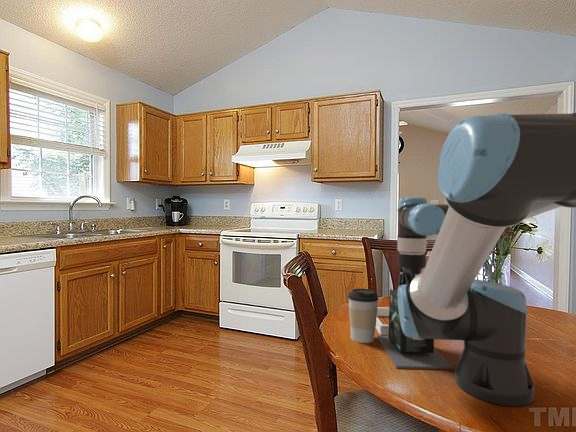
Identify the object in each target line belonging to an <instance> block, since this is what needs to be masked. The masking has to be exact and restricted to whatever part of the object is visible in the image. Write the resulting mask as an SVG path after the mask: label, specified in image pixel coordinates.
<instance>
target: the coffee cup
mask: <svg viewBox="0 0 576 432" xmlns="http://www.w3.org/2000/svg"><path fill="white" fill-rule="evenodd" d="M347 298H348V318H349V326H350V328H349V329H350V339H351V340H352V341H354V342H355V343H361V344H370V343H374V342H375V332H376V328H375V327H376V318H377V317H378V316H377V307H378V301H379V295H378V294H377V293H376V292H375V290H373V289H369V288H354V289H353V288H352V290H351V291H350V292H349V293H348V296H347Z"/></svg>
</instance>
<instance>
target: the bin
mask: <svg viewBox="0 0 576 432" xmlns="http://www.w3.org/2000/svg"><path fill="white" fill-rule="evenodd" d="M379 317H389V306H388V307H387V306H386V307H383V306H382V307H379V306H377V318H376V327H375V330H377V332H378V334H379V336H389V324H383V323H382V321H381V320H380V318H379Z"/></svg>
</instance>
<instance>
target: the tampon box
mask: <svg viewBox="0 0 576 432" xmlns="http://www.w3.org/2000/svg"><path fill="white" fill-rule="evenodd" d="M397 292H398V290H397V289H391V288H390V289H389V297H388V298H389V299H388V302H389V303H388V305H389V306H388V307H389V316H388V325H389V335H388V336H389V339H390V340H391V342H392V343H393V344H394V345H395V347H396V348H397V349H398V351H399V352H409V353H434V348H435V339H424V340H413V339H412V338H409V337H407V336H405V335H404V333H403V331H402V328H401V324H400V318H399V310H398V297H397Z"/></svg>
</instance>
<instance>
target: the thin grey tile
mask: <svg viewBox="0 0 576 432" xmlns="http://www.w3.org/2000/svg"><path fill="white" fill-rule="evenodd" d="M376 338H377V340H378V341H379V343H380V344H381V346H382V348H383V350H384V352H386V354H387V356H388V358H389V359H390V361H391V363H392V364H393V365H394V367H395V369H406V370H407V369H410V370H412V369H414V370H417V369H418V370H447V371H448V370H449V371H450V370H454V366H453V365H452V364H451V363H450V362H449V361H448V360H447V359H446V358H445V357H444V356H443V355H442V354H441V353H440V352H439V351H438V350H437V349H436V348H435V347H434V353H409V352H399V351H398V349H397V348H396V347H395V345H394V344H393V343H392V342H391V340H390V339H389V335H377V336H376Z"/></svg>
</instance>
